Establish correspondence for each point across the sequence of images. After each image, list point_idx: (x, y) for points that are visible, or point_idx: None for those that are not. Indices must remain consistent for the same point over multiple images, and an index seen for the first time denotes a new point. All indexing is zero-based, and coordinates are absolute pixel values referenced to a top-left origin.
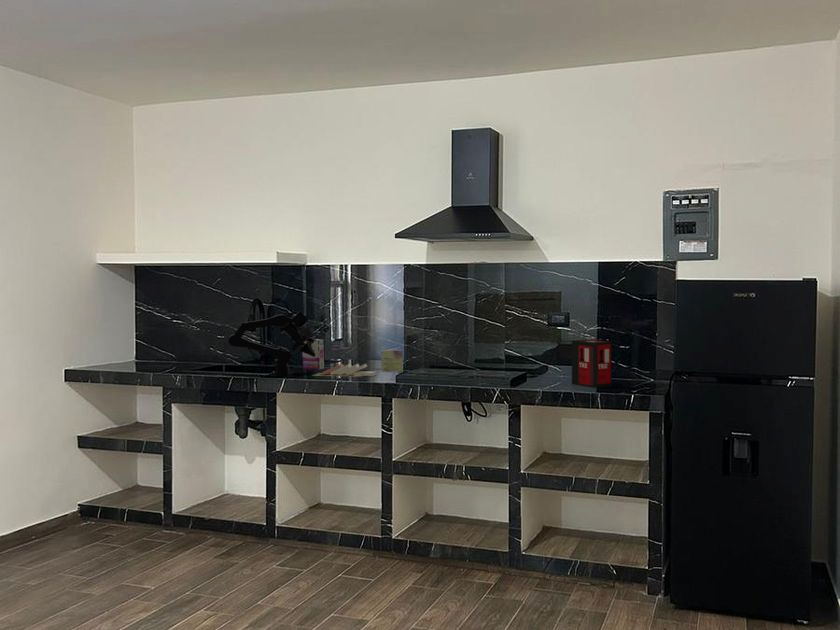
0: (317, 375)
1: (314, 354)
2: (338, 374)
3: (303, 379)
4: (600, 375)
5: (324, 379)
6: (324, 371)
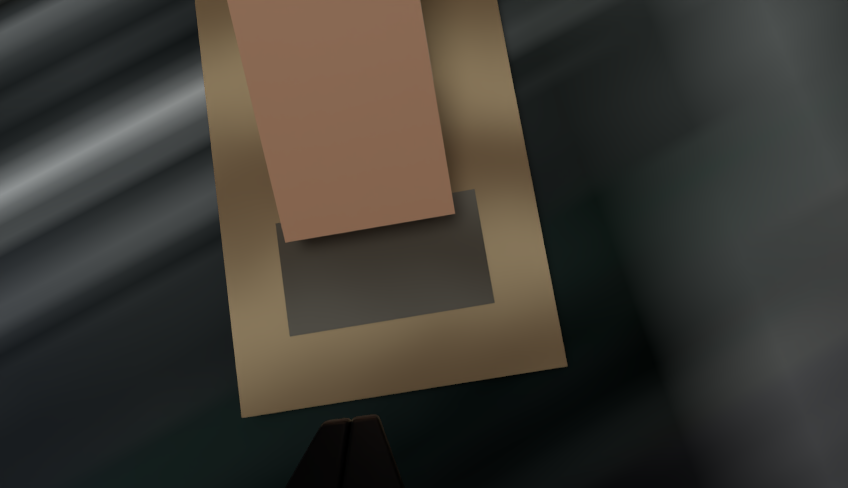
0: (524, 274)
1: (385, 439)
2: None
3: (803, 377)
4: None
5: (681, 69)
6: (447, 172)
